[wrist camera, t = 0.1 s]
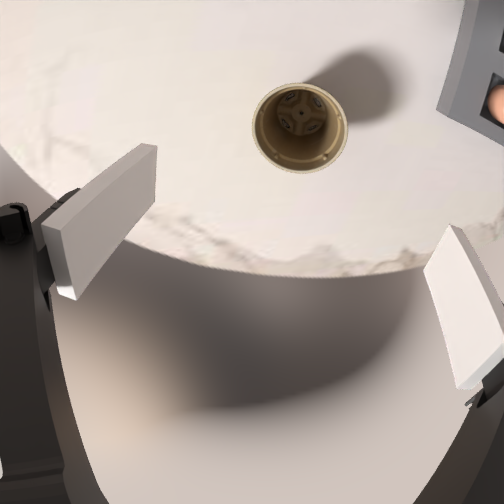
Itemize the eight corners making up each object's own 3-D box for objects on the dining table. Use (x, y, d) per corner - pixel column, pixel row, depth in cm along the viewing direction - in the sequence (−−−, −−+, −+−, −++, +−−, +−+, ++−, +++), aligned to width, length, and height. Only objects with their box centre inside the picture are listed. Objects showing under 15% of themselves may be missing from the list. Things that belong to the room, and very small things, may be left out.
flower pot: (355, 102, 35) (366, 117, 28) (315, 161, 40) (315, 189, 33) (286, 61, 33) (280, 65, 26) (250, 125, 39) (235, 145, 32)
